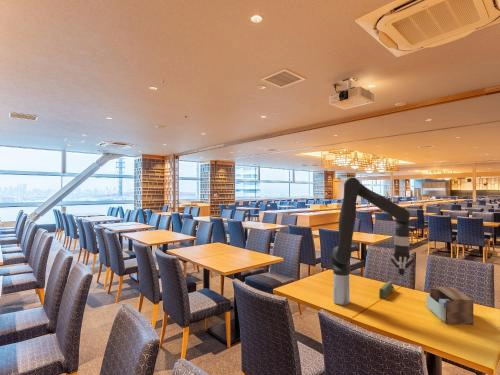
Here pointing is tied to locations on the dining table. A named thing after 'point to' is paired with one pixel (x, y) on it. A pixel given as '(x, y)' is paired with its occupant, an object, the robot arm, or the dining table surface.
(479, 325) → the dining table surface
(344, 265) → the robot arm
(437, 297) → the open wooden box
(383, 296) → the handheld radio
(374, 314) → the dining table surface
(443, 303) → the slate block
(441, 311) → the tray
